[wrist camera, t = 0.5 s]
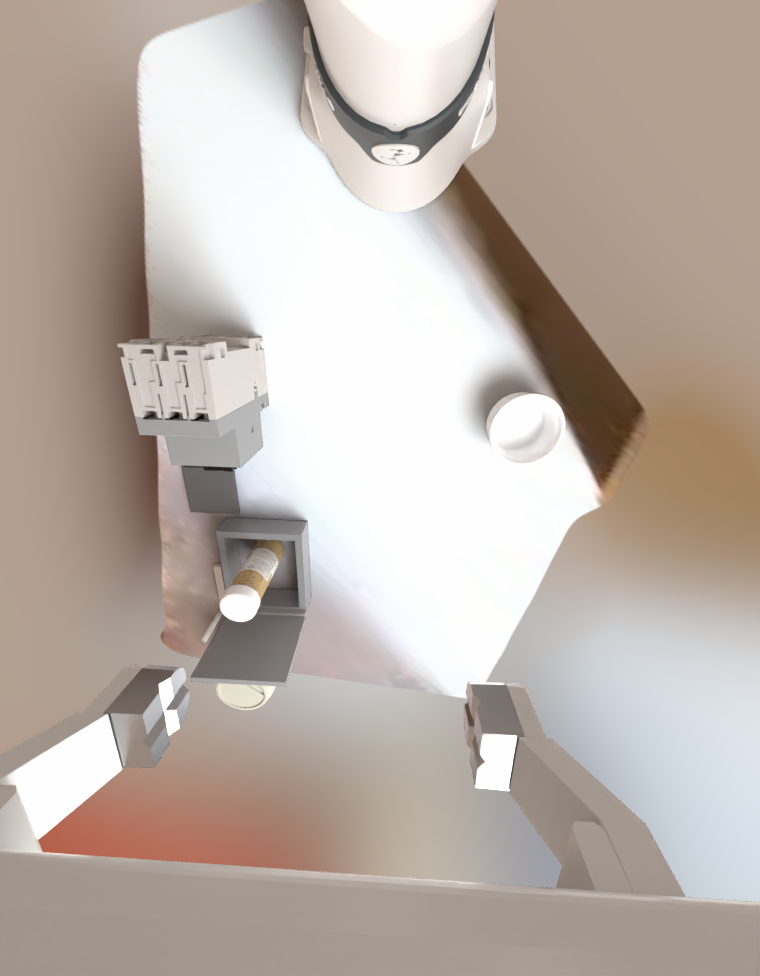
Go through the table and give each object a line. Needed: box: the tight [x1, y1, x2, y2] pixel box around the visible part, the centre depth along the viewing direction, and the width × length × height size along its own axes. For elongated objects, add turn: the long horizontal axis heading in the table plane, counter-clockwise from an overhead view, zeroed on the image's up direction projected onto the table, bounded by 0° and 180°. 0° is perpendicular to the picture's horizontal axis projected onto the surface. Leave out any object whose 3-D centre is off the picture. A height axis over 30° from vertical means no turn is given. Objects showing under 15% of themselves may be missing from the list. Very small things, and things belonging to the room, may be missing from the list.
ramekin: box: [486, 392, 565, 466], centre depth 46 cm, size 9×9×4 cm
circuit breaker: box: [117, 335, 269, 472], centre depth 40 cm, size 8×14×15 cm, turn 178°
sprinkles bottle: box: [219, 539, 284, 622], centre depth 51 cm, size 5×5×13 cm
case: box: [190, 517, 312, 687], centre depth 50 cm, size 15×13×16 cm
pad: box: [182, 466, 240, 514], centre depth 53 cm, size 7×7×1 cm
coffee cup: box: [216, 683, 275, 710], centre depth 58 cm, size 8×8×12 cm
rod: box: [213, 563, 226, 602], centre depth 59 cm, size 7×1×1 cm, turn 178°
